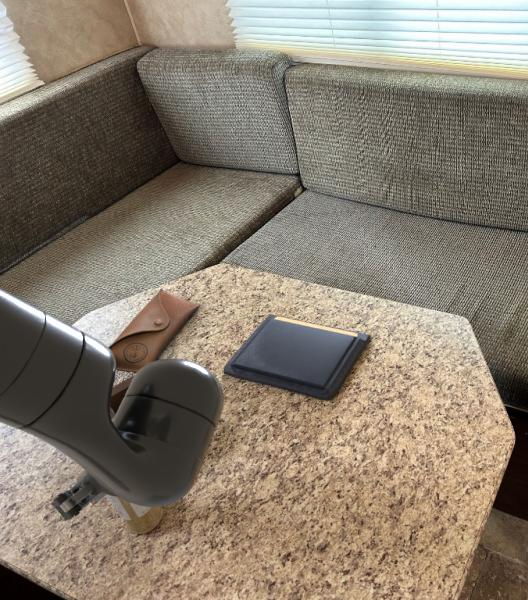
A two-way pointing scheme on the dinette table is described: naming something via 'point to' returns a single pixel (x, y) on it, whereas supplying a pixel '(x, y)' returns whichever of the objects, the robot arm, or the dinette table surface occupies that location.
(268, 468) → the dinette table surface
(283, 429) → the dinette table surface
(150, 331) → the sunglasses case
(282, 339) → the wallet
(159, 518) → the sprinkles bottle
